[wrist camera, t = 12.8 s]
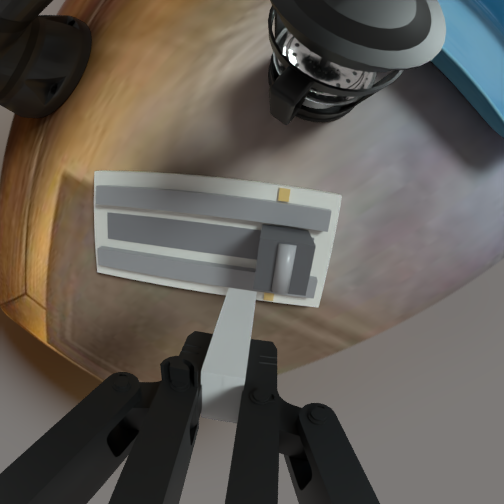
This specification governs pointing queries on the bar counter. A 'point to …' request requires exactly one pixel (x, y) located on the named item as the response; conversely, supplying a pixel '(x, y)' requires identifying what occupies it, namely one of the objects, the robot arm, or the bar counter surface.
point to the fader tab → (284, 260)
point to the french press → (345, 51)
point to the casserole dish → (475, 55)
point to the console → (204, 229)
